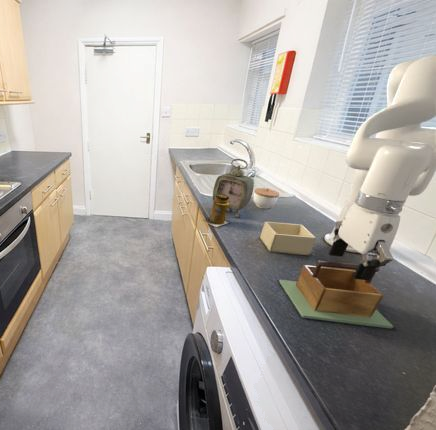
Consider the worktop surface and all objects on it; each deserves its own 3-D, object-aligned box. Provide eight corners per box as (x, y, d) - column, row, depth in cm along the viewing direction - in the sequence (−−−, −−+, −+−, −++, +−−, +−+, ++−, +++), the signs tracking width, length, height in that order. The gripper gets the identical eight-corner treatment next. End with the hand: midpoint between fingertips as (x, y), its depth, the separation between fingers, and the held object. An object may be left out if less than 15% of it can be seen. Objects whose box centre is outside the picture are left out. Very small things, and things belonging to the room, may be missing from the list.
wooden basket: (345, 290, 74) (363, 255, 69) (371, 317, 65) (394, 279, 60) (294, 284, 76) (308, 250, 71) (313, 310, 67) (330, 273, 62)
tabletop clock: (209, 210, 125) (219, 157, 114) (218, 205, 131) (229, 154, 120) (239, 220, 116) (254, 163, 105) (248, 214, 121) (262, 160, 111)
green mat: (353, 289, 76) (354, 287, 75) (392, 328, 63) (393, 326, 63) (279, 281, 78) (279, 279, 78) (302, 317, 66) (303, 315, 65)
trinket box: (275, 205, 132) (281, 187, 128) (274, 212, 124) (279, 193, 120) (252, 200, 138) (256, 183, 134) (249, 207, 129) (254, 189, 125)
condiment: (228, 222, 113) (235, 196, 108) (216, 227, 109) (222, 200, 104) (214, 216, 118) (219, 191, 113) (202, 220, 114) (206, 194, 109)
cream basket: (295, 240, 100) (301, 224, 97) (309, 255, 91) (316, 238, 88) (259, 237, 102) (264, 221, 99) (269, 251, 93) (275, 234, 90)
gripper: (434, 221, 50) (391, 291, 57) (368, 191, 66) (341, 249, 73) (390, 218, 51) (353, 287, 58) (335, 188, 67) (312, 246, 74)
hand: (347, 266), depth 66 cm, fingers open, 9 cm apart
